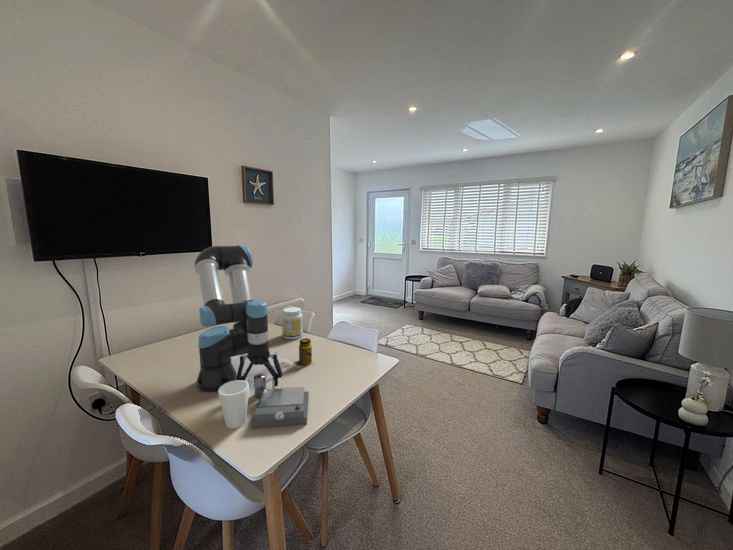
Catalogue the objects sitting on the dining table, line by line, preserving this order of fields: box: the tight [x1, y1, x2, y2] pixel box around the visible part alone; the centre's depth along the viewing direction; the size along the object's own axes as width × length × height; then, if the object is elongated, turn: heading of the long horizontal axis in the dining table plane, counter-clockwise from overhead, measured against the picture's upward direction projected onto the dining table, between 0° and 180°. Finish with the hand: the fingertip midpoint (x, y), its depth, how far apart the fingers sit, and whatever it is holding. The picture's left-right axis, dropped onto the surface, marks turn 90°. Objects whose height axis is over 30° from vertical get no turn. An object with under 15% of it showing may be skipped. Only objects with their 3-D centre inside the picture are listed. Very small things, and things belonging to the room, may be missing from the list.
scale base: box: [251, 390, 310, 430], centre depth 106 cm, size 18×16×6 cm
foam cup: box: [217, 380, 250, 429], centre depth 99 cm, size 10×9×13 cm
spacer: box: [253, 373, 267, 399], centre depth 116 cm, size 4×4×8 cm
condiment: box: [292, 337, 315, 369], centre depth 143 cm, size 7×8×12 cm
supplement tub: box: [281, 306, 304, 340], centre depth 177 cm, size 12×12×17 cm
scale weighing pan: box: [259, 386, 306, 408], centre depth 108 cm, size 15×11×2 cm
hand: (260, 394), depth 117 cm, fingers open, 10 cm apart
